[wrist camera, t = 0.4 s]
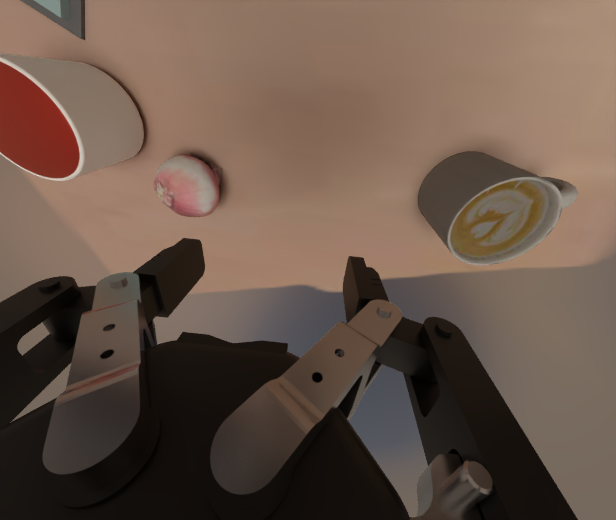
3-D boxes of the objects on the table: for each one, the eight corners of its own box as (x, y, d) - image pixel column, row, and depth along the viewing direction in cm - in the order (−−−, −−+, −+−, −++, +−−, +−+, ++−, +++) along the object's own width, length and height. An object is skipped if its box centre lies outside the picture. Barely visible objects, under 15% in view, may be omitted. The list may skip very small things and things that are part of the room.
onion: (170, 172, 33) (126, 168, 26) (212, 146, 31) (177, 135, 25) (199, 222, 35) (165, 231, 28) (240, 200, 33) (215, 204, 26)
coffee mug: (412, 225, 34) (437, 267, 26) (425, 155, 29) (463, 181, 21) (509, 220, 33) (567, 262, 25) (544, 144, 27) (635, 168, 19)
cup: (163, 154, 31) (105, 177, 23) (97, 160, 32) (20, 184, 24) (120, 57, 25) (22, 41, 17) (42, 68, 26) (-85, 59, 18)
